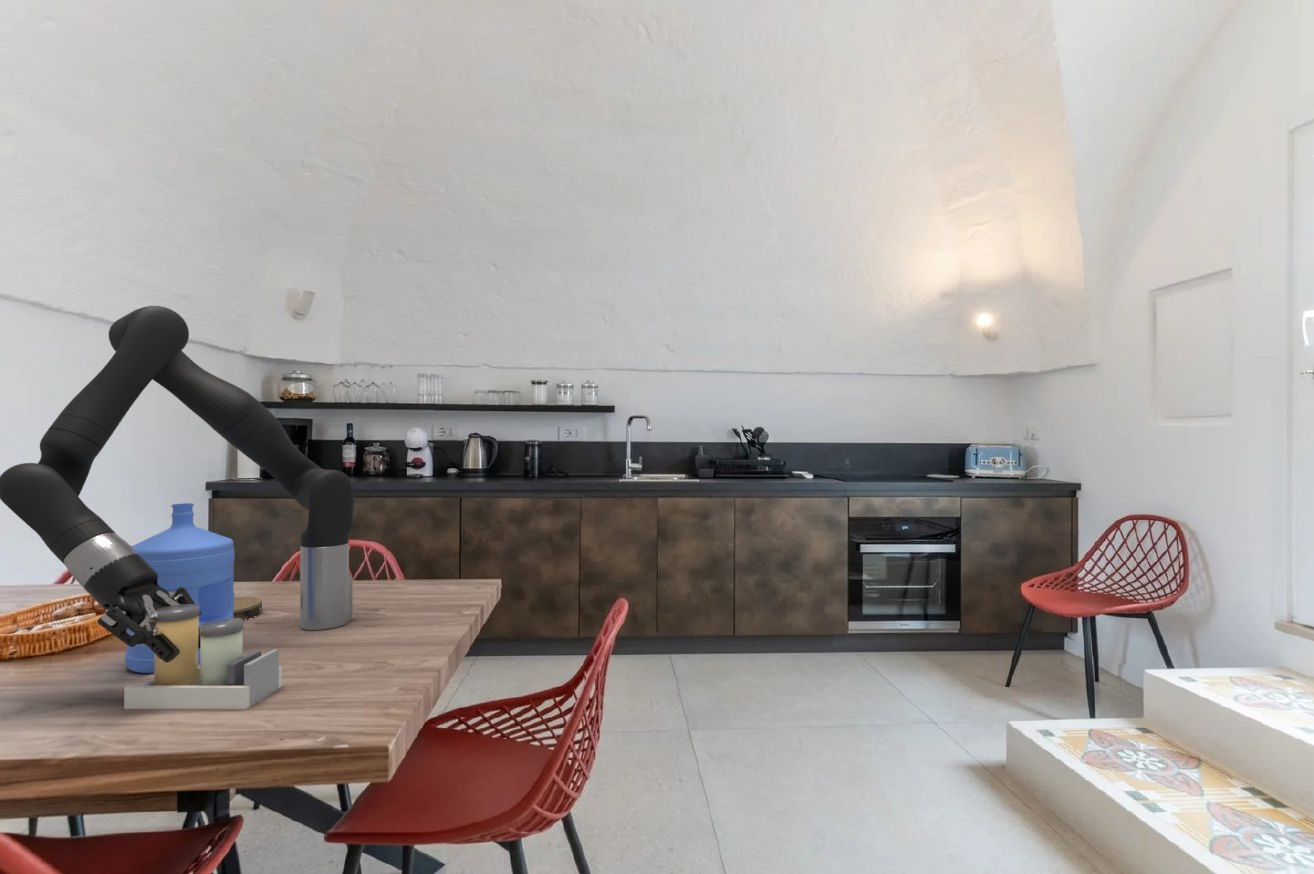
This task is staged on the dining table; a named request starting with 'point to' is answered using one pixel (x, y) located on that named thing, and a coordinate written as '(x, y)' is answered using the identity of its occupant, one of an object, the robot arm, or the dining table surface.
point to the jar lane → (211, 690)
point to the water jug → (188, 573)
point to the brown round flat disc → (246, 607)
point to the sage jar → (219, 649)
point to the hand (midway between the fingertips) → (188, 650)
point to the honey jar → (178, 644)
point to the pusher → (239, 669)
